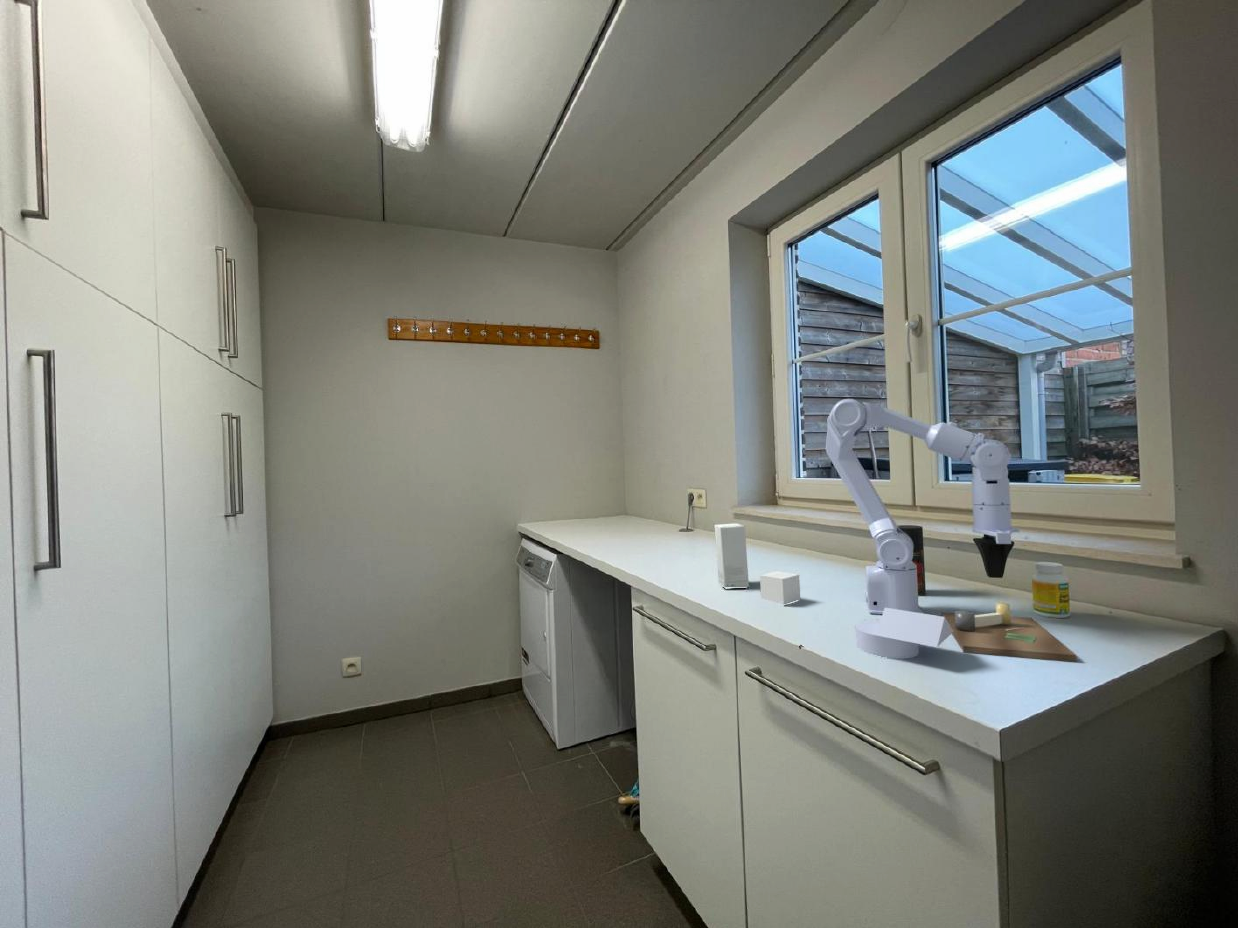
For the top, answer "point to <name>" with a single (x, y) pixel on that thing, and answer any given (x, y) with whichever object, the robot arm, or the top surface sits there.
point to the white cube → (780, 587)
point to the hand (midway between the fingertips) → (994, 577)
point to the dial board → (1011, 640)
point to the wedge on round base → (901, 633)
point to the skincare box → (731, 555)
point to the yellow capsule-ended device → (982, 618)
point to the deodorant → (917, 553)
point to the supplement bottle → (1050, 591)
